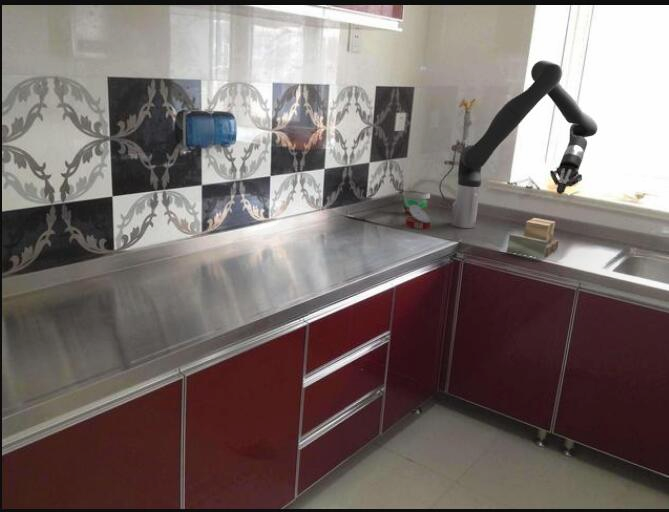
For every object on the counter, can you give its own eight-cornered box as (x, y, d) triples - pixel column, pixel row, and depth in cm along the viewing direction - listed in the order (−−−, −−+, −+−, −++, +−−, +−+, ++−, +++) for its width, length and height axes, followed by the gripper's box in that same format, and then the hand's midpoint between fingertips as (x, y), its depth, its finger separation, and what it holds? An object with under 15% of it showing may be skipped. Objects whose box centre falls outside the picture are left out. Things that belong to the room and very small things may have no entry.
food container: (399, 214, 279) (401, 192, 277) (400, 211, 285) (402, 189, 282) (427, 217, 278) (430, 195, 275) (428, 215, 283) (430, 192, 281)
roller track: (523, 242, 248) (526, 225, 246) (557, 249, 242) (560, 232, 240) (506, 252, 232) (509, 234, 230) (542, 259, 225) (545, 242, 223)
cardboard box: (531, 235, 246) (534, 217, 244) (552, 239, 242) (555, 221, 240) (523, 240, 238) (526, 221, 236) (545, 244, 234) (548, 225, 232)
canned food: (420, 235, 266) (432, 214, 265) (426, 238, 256) (440, 217, 256) (397, 221, 264) (410, 200, 263) (403, 224, 254) (416, 203, 253)
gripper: (554, 151, 260) (541, 184, 253) (588, 155, 253) (576, 189, 246) (556, 163, 266) (543, 195, 259) (589, 167, 259) (577, 201, 252)
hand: (559, 192), depth 253 cm, fingers closed
